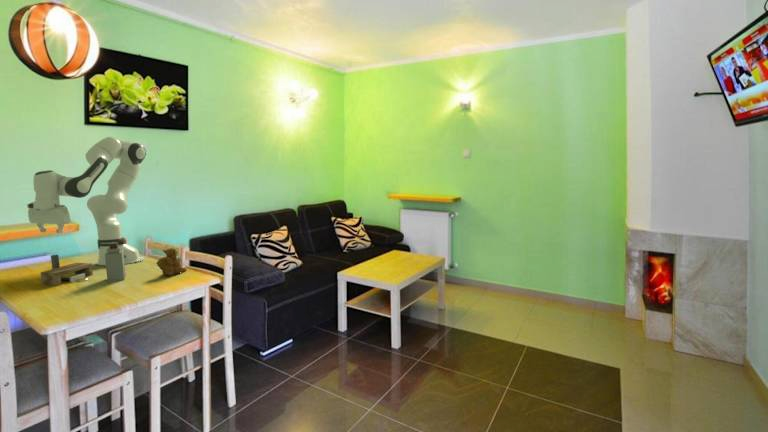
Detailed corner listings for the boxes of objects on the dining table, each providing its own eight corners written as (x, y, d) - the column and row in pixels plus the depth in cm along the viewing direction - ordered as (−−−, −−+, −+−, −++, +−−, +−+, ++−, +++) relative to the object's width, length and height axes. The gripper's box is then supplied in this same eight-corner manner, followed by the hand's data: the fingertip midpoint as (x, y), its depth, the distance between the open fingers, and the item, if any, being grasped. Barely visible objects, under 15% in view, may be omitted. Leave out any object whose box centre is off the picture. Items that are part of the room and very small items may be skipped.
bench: (42, 284, 184) (40, 272, 183) (77, 274, 202) (76, 262, 201) (58, 285, 182) (56, 273, 182) (92, 274, 200) (91, 263, 199)
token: (89, 279, 194) (89, 277, 193) (87, 281, 190) (87, 279, 190) (78, 280, 192) (77, 278, 191) (75, 283, 188) (75, 280, 187)
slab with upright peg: (47, 280, 190) (44, 256, 188) (61, 276, 197) (58, 253, 195) (72, 282, 188) (69, 257, 186) (85, 278, 194) (83, 254, 193)
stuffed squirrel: (187, 270, 209) (186, 246, 208) (173, 277, 195) (172, 252, 194) (169, 270, 209) (167, 246, 208) (153, 277, 195) (152, 252, 194)
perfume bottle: (107, 281, 189) (103, 245, 186) (109, 278, 195) (106, 242, 192) (124, 279, 192) (120, 244, 189) (125, 276, 198) (122, 241, 195)
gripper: (72, 204, 190) (75, 232, 192) (37, 203, 193) (40, 230, 195) (59, 205, 184) (63, 234, 186) (23, 204, 187) (27, 233, 189)
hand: (51, 232), depth 191 cm, fingers open, 8 cm apart
